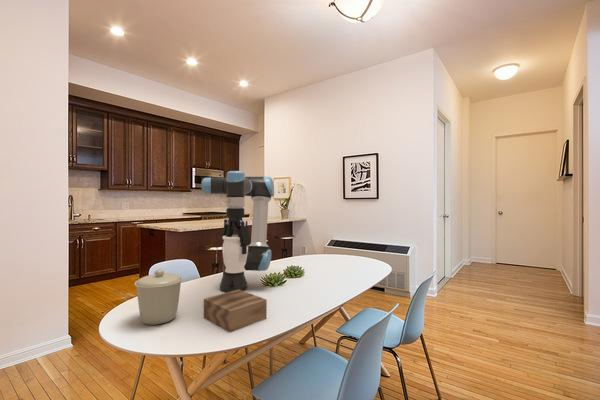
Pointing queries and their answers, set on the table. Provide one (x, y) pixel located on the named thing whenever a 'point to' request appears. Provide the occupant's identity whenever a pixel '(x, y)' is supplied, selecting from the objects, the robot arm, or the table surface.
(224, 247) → the jar
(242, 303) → the walnut box
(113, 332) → the table surface
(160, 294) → the canister
